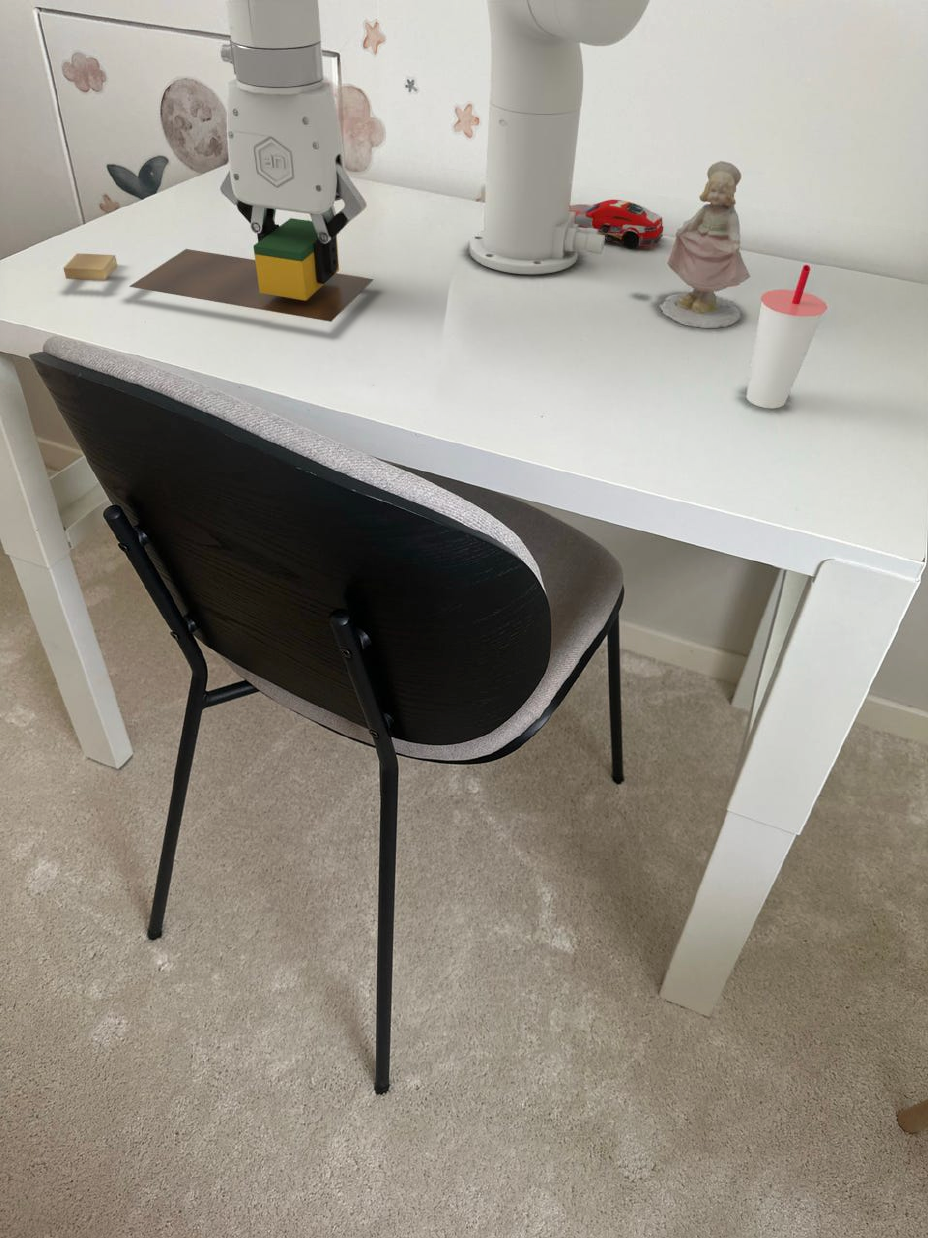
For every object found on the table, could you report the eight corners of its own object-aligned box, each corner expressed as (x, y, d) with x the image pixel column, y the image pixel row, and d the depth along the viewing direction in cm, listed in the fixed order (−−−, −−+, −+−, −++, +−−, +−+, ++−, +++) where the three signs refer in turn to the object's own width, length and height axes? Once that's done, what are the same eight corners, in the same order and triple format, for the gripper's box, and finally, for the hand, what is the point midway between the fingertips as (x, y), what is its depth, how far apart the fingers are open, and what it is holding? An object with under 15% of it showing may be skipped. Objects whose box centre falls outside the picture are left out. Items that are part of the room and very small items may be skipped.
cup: (796, 418, 77) (840, 281, 69) (733, 408, 78) (769, 272, 70) (796, 390, 81) (838, 257, 73) (736, 380, 82) (771, 248, 74)
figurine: (628, 318, 90) (660, 152, 84) (637, 311, 99) (667, 161, 92) (737, 335, 88) (778, 166, 82) (736, 326, 97) (773, 174, 90)
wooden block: (120, 278, 94) (115, 254, 93) (108, 293, 91) (102, 269, 90) (83, 276, 94) (76, 252, 93) (69, 292, 91) (63, 267, 90)
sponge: (339, 270, 92) (336, 224, 89) (306, 300, 86) (301, 252, 83) (295, 263, 93) (290, 217, 90) (259, 293, 87) (253, 245, 84)
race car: (547, 234, 109) (550, 199, 106) (563, 220, 112) (566, 186, 110) (652, 253, 105) (658, 218, 102) (664, 239, 108) (670, 204, 106)
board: (374, 292, 94) (373, 278, 93) (332, 335, 86) (331, 321, 85) (188, 262, 98) (185, 248, 97) (132, 300, 90) (129, 286, 89)
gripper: (168, 64, 76) (205, 276, 88) (353, 84, 72) (364, 302, 85) (212, 47, 81) (242, 249, 94) (386, 65, 78) (393, 272, 90)
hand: (300, 272), depth 89 cm, fingers closed on sponge, 5 cm apart
